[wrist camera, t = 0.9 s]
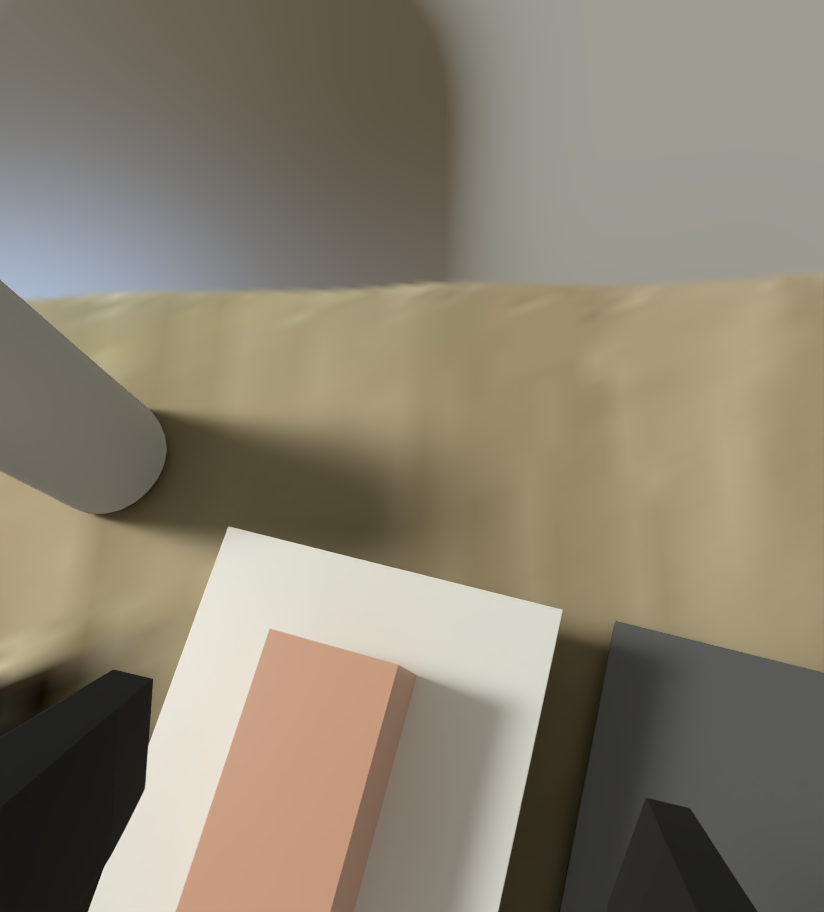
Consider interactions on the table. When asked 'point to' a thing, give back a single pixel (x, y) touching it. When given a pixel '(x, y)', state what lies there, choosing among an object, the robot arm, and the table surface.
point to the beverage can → (70, 419)
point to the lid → (336, 742)
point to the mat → (706, 766)
